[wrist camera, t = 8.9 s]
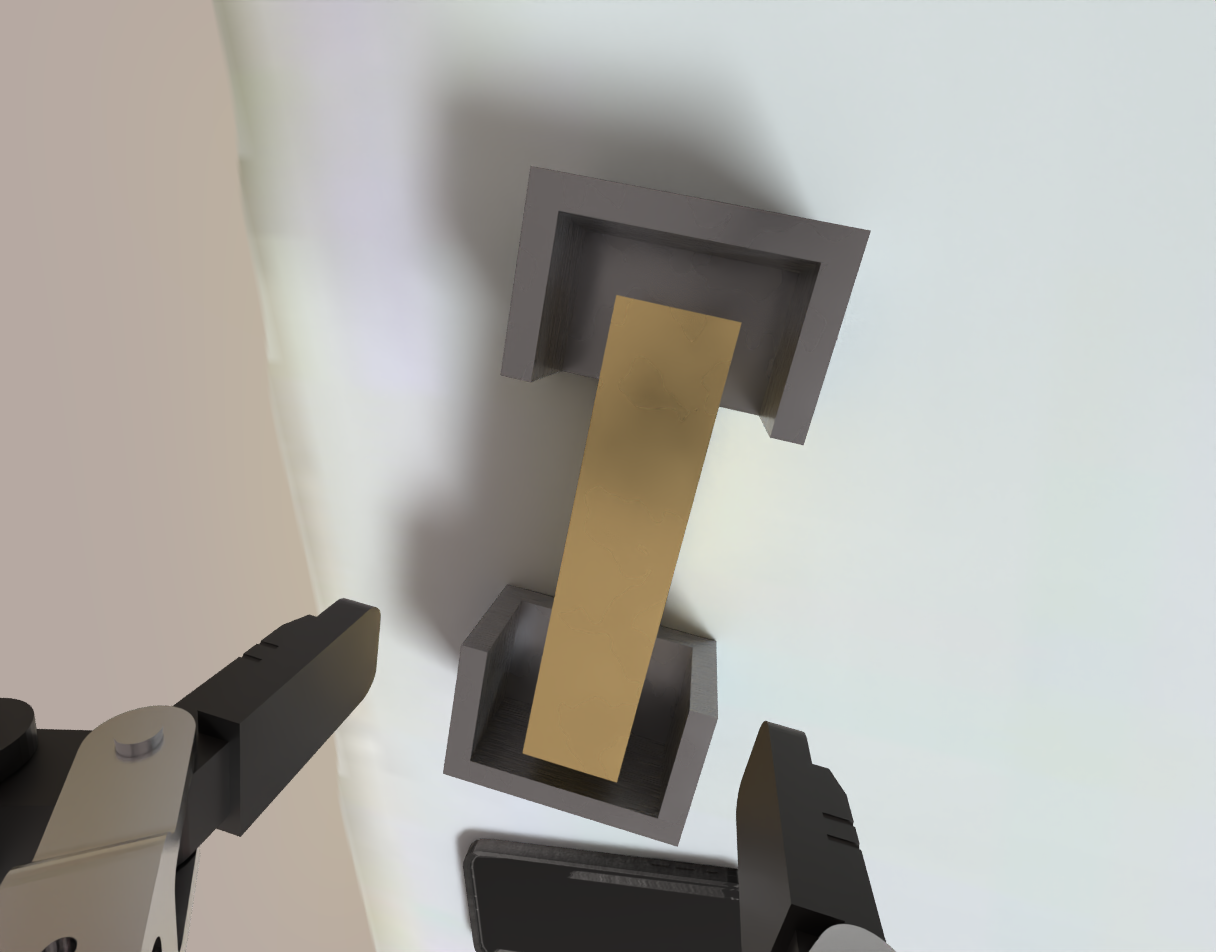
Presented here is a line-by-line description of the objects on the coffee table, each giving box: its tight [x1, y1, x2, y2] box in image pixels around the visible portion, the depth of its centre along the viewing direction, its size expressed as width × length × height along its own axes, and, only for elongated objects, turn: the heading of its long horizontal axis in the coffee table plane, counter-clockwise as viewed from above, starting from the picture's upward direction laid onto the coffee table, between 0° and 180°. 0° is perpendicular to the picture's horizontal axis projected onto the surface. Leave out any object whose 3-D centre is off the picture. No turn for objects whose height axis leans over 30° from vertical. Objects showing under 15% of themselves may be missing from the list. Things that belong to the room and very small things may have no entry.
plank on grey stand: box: [443, 166, 870, 847], centre depth 21 cm, size 22×10×5 cm, turn 169°
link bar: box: [523, 295, 741, 782], centre depth 20 cm, size 16×4×5 cm, turn 168°
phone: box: [463, 839, 742, 952], centre depth 30 cm, size 8×1×15 cm
